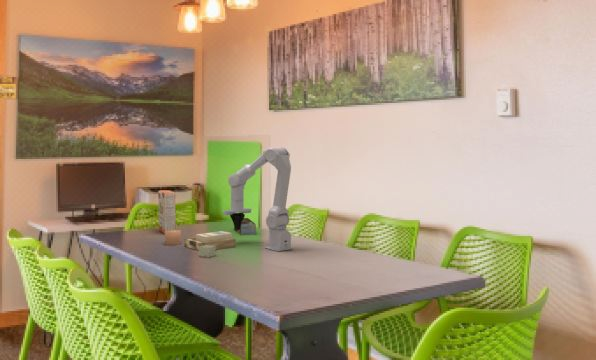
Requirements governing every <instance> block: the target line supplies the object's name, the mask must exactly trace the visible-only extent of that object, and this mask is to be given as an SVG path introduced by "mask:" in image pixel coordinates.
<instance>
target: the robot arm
mask: <svg viewBox="0 0 596 360" xmlns="http://www.w3.org/2000/svg"><path fill="white" fill-rule="evenodd" d="M290 155H291V153H290V152H289V151H288V149H286V148H285V147H268V148H267V149H266V150H264V151H262V154H260V155H259V157H257V158H256V159H255V160H254V161H253V162H252V163H251V164H249V163H247V164H243V165H242V168H241V169H239V170H237V171H236V173H230V175H229V177H228V181H227V182H228V185H229V186H230V209H226V210H222V215H223V216H229V217H230V219H231V221H232V223H233V228H234V227H235V229H234V230H235V231H236V230H240V227H241V223H242V221H243V219H244V218H246V217H245V215H246V214H251V213H252V208H244V205H245V203H244V202H245V201H244V189H245V186H246V183H247V181H249V179H252V177H254V176H255V175H256V171H257V170H258V169H260V168H261V167H263V166H264V165H266V164H267V163H269V164H271V166H273V167H274V168H275V169H276V170H277V176H276V183H275V189H274V195H273V204H272V207H271V208H270V209H269V210H268V215H267V216H266V219H265V223H266V226H267V227H268V229H269V235H268V238H269V241H268V242H269V244H268V245H269V246H265V249H268V250H273V251H276V252H282V251H287V250H289V251H290V250H292V249H293V248H292V246H291V245H292V244H291V242H292V240H291V239H292V236H291V232H290V231H289V230H287V226H288V224H289V223H290V216H289V210H288V209H287V207H286V206H287V199H288V193H289V184H290V179H291V172H292V165H291V160H290V157H291V156H290Z"/></svg>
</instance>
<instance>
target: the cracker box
mask: <svg viewBox="0 0 596 360" xmlns="http://www.w3.org/2000/svg"><path fill="white" fill-rule="evenodd" d="M158 229H159V231H160V232H161V233H162V234H164V235H165V231H166V230H177V227H176V192H174V191H172V190H170V189H169V190H166V189H165V190H164V189H162V190H161V189H160V190H158Z"/></svg>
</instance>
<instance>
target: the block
mask: <svg viewBox="0 0 596 360" xmlns="http://www.w3.org/2000/svg"><path fill="white" fill-rule="evenodd" d="M164 242H165V243H164V244H165V245H166V246H179V245H182V230H181V229H176V230H166V231H165V234H164Z"/></svg>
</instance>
